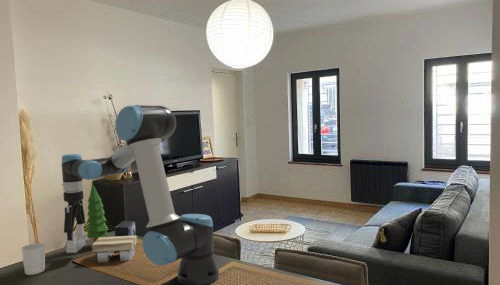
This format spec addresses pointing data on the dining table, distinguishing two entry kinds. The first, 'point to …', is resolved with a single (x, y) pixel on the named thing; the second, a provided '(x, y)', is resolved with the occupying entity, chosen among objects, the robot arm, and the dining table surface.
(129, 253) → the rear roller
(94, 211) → the decorative tree
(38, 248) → the white cup
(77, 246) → the grey marble block
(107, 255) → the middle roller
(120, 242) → the oak slab
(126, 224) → the small box
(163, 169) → the robot arm
